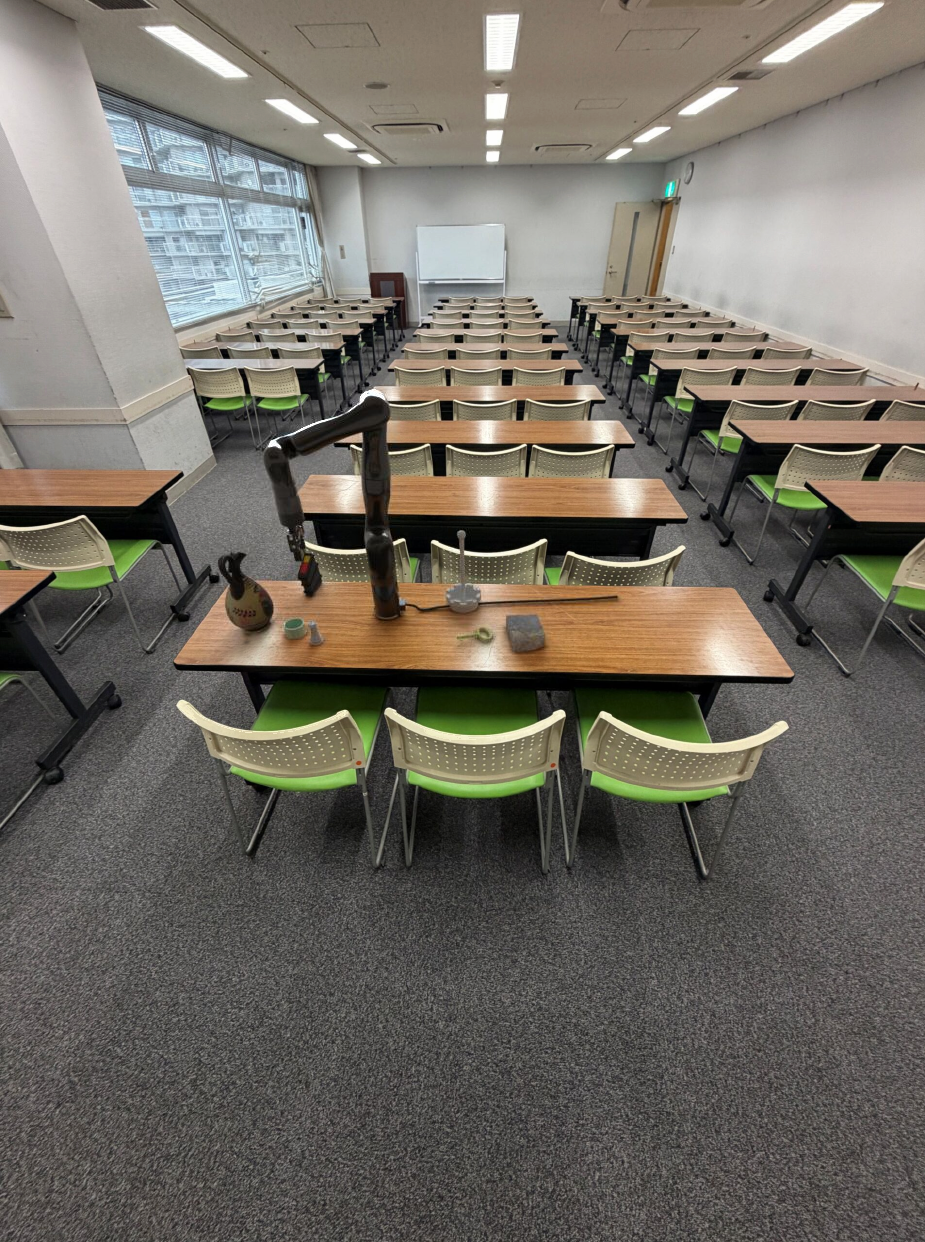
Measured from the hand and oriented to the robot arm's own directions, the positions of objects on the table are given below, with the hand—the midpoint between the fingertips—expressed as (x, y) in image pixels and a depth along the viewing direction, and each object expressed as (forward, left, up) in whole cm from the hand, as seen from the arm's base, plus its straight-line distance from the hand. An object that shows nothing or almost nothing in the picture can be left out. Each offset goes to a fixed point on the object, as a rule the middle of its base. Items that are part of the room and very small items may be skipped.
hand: (300, 554), depth 168 cm
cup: (+6, +6, -28) cm, 29 cm away
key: (-56, +17, -28) cm, 64 cm away
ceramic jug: (+22, 0, -28) cm, 35 cm away
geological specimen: (-72, +19, -28) cm, 80 cm away
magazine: (+4, -22, -28) cm, 36 cm away
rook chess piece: (-1, +12, -28) cm, 30 cm away
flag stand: (-54, -4, -28) cm, 60 cm away
